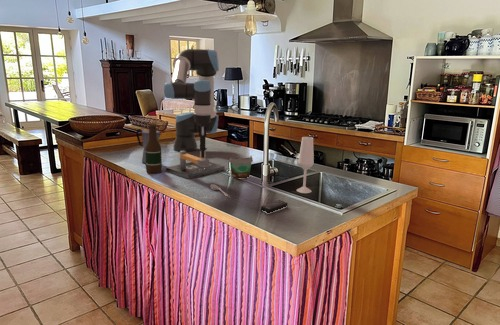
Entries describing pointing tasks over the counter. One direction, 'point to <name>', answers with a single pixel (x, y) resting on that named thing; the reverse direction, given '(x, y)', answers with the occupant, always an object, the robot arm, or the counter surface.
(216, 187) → the spoon
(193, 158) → the hammer
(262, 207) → the multiport hub
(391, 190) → the counter surface
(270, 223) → the counter surface
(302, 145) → the champagne flute
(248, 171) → the food container
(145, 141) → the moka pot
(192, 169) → the plate
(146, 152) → the beer bottle
